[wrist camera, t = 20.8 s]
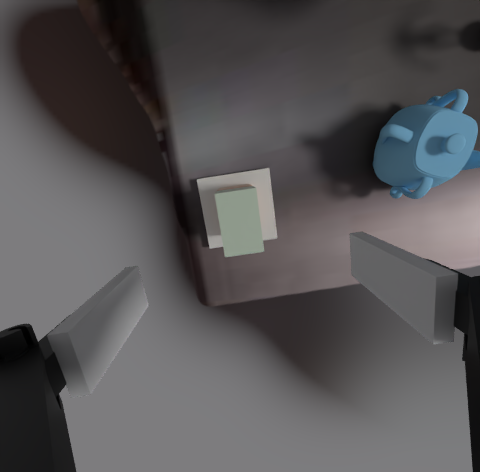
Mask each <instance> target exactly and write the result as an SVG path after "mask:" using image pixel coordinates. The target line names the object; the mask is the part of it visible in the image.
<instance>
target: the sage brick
mask: <svg viewBox="0 0 480 472" xmlns="http://www.w3.org/2000/svg"><path fill="white" fill-rule="evenodd" d="M215 200H216V206H217V212H218V218H219V224H220V230H221V236H222V242H223V248H224V254H225V257H231V256H238V255H244V254H251V253H258V252H264V246H263V238H262V230H261V222H260V214H259V206H258V198H257V190H256V187H254V186H247V187H240V188H234V189H227V190H220V191H217V192H216V193H215Z"/></svg>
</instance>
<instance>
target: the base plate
mask: <svg viewBox="0 0 480 472" xmlns="http://www.w3.org/2000/svg"><path fill="white" fill-rule="evenodd" d="M197 184H198V189H199V195H200V200H201V205H202V210H203V216H204V221H205V226H206V232H207V237H208V242H209V247H210V248H217V247H223V242H222V236H221V230H220V224H219V218H218V212H217V206H216V200H215V193H216V192H217V190H218V189H219V188H225V187H231V186H238V185H244V184H251V185H252V186H254V187H256V190H257V198H258V206H259V214H260V222H261V230H262V238H263V240H269V239H276V238H277V231H276V222H275V214H274V205H273V197H272V189H271V180H270V172H269V168H266V169H259V170H253V171H246V172H240V173H234V174H227V175H221V176H214V177H208V178H202V179H197Z"/></svg>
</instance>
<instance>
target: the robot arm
mask: <svg viewBox="0 0 480 472" xmlns="http://www.w3.org/2000/svg"><path fill="white" fill-rule="evenodd" d="M350 251H351V274H352V276H353V277H354V278H356V279H357V280H358V281H359V282H360V283H361V284H363V285H364V286H365V287H366V288H368V289H369V290H370V291H371V292H372V293H373V294H374V295H376V296H377V297H378V298H379V299H380V300H382V301H383V302H384V303H385V304H386V305H387V306H389V307H390V308H391V309H392V310H393V311H394V312H396V313H397V314H398V315H399V316H400V317H401V318H403V319H404V320H405V321H406V322H407V323H409V324H410V325H411V326H412V327H413V328H414V329H416V330H417V331H418V332H419V333H420V334H422V335H423V336H424V337H425V338H426V339H427V340H429V341H430V342H431V343H432V344H439V343H447V342H453V341H454V328H455V327H456V328H457V329H459V330H460V331H462V332H463V333H464V346H463V357H462V360H463V361H465V369H466V383H467V397H468V410H469V425H470V437H471V452H472V467H473V472H480V276H475V277H469V276H467V275H465V274H462V273H460V272H458V271H455V270H453V269H449V268H448V267H446V266H444V265H441V264H439V263H437V262H434V261H432V260H428V259H424V258H421V257H419V256H417V255H414V254H412V253H410V252H407V251H405V250H403V249H401V248H398V247H396V246H394V245H392V244H389V243H387V242H385V241H382V240H380V239H378V238H376V237H373V236H371V235H369V234H366V233H364V232H356V233H350ZM147 307H148V301H147V298H146V294H145V290H144V286H143V283H142V279H141V275H140V271H139V268H138V266H133V267H127V268H125V269H124V270H123V271H121V272H120V273H119V274H118V275H117V276H116V277H114V278H113V279H112V280H111V281H110V282H108V283H107V284H106V285H105V286H104V287H103V288H102V289H100V290H99V291H98V292H97V293H96V294H94V295H93V296H92V297H91V298H90V299H89V300H87V301H86V302H85V303H84V304H83V305H82V306H80V307H79V308H78V309H77V310H76V311H75V312H74V313H72V314H71V315H69V316H68V317H67V318H66V319H64V320H63V321H62V322H61V324H59V325H57V326H56V327H55V329H53V330H52V331H50V332H49V333H48V334H47V335H46V336H45V337H44V338H42V339H41V340H40V341H39V342H38V341H37V339H36V336H35V333H34V331H33V328H32V326H31V325H30V324H21V325H17V326H14V327H11V328H8V329H5V330H3V331H1V332H0V472H76V468H75V463H74V458H73V453H72V448H71V443H70V438H69V433H68V429H67V423H66V419H65V413H64V409H63V404H62V400H61V398H60V395H59V393H60V392H61V390H62V389H63V388H64V387H65V385H66V386H67V388H68V391H69V394H70V396H71V397H78V396H85V395H91V393H92V392H93V390H94V389H95V387H96V386H97V384H98V383H99V381H100V380H101V378H102V376H103V375H104V373H105V372H106V370H107V369H108V367H109V366H110V364H111V363H112V361H113V359H114V358H115V357H116V355H117V354H118V352H119V350H120V349H121V347H122V346H123V344H124V343H125V341H126V340H127V338H128V336H129V335H130V334H131V332H132V330H133V329H134V327H135V326H136V324H137V323H138V321H139V320H140V318H141V317H142V315H143V314H144V312H145V311H146V309H147Z"/></svg>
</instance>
